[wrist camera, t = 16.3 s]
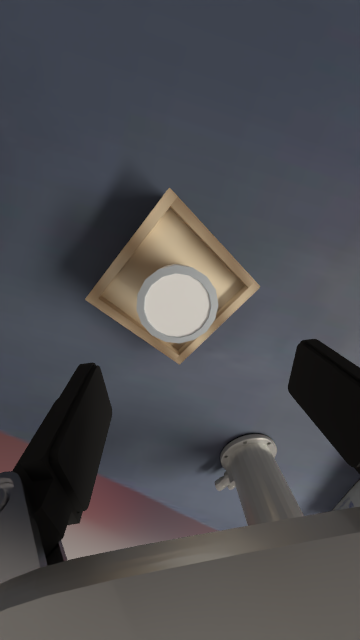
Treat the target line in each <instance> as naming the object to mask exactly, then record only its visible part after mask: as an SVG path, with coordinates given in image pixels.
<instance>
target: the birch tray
mask: <svg viewBox="0 0 360 640" xmlns="http://www.w3.org/2000/svg"><path fill="white" fill-rule="evenodd" d="M171 264H180V265H186V266H189V267H193V268H194V269H196V270H197V271H199V272H201V273H202V274H204V275H205V276H207V277H208V279H209V280H210V282H211V283H212V285H213V286H214V288H215V289H216V294H217V299H218V309H217V313H216V318H215V320H214V322H213V323H212V325H211V326H210V327H209V329H208V330H207V332H205V333H204V334H202V335H201V336H199V337H198V338H196V339H195V340H192V341H187V342H183V343H172V342H164V341H162V340H160V339H158V338H156V337H154V336H152V335H151V334H150V333H149V332H148V331H147V329H146V328H145V327H144V326H143V325H142V324H141V321H140V318H139V315H138V313H137V310H136V308H137V295H138V292H139V290H140V289H141V287H142V285H143V283H144V281H145V279H147V278H148V277H149V276H151V275H152V274H153V273H154V272H156V271H157V270H158V269H160V268H162V267H164V266H167V265H171ZM259 288H260V286H259V285H258V284H257V282H256V281H255V280H254V279H253V278H252V277H251V276H250V275H249V274H248V273H247V272H246V270H245V269H244V268H243V267H242V266H241V265H240V264H239V263H238V262H237V261H236V260H235V258H234V257H233V256H232V255H231V254H230V253H229V252H228V251H227V250H226V249H225V248H224V246H223V245H222V244H221V243H220V242H219V241H218V240H217V239H216V238H215V237H214V236H213V234H212V233H211V232H210V231H209V230H208V229H207V228H206V227H205V226H204V225H203V224H202V222H201V221H200V220H199V219H198V218H197V217H196V216H195V215H194V214H193V213H192V212H191V210H190V209H189V208H188V207H187V206H186V205H185V204H184V203H183V202H182V201H181V200H180V198H179V197H178V196H177V195H176V194H175V193H174V192H173V191H172V190H171V189H170V188H169V189H168V190H167V191H166V193H165V194H164V195H163V197H162V198H161V199H160V201H159V202H158V203H157V205H156V206H155V207H154V209H153V210H152V211H151V213H150V214H149V215H148V217H147V218H146V219H145V221H144V222H143V223H142V225H141V226H140V227H139V229H138V230H137V231H136V232H135V234H134V235H133V236H132V238H131V239H130V240H129V242H128V243H127V244H126V246H125V247H124V248H123V250H122V251H121V252H120V254H119V255H118V256H117V258H116V259H115V260H114V262H113V263H112V264H111V266H110V267H109V268H108V269H107V271H106V272H105V273H104V275H103V276H102V277H101V279H100V280H99V281H98V283H97V284H96V285H95V287H94V288H93V289H92V291H91V292H90V293H89V295H88V296H87V297H86V299H85V300H86V301H88V302H89V303H91V304H92V305H94V306H95V307H97V308H98V309H99V310H101V311H102V312H104V313H105V314H107V315H108V316H110V317H111V318H113V319H114V320H115V321H117V322H118V323H120V324H121V325H123V326H124V327H126V328H127V329H129V330H130V331H132V332H133V333H134V334H136V335H137V336H139V337H140V338H142V339H143V340H145V341H146V342H148V343H149V344H150V345H152V346H153V347H155V348H156V349H158V350H159V351H161V352H162V353H164V354H165V355H166V356H168V357H169V358H171V359H172V360H174V361H175V362H177V363H178V364H181V363H182V362H183V361H184V360H185V359H186V358H187V357H188V356H189V355H190V354H191V353H192V352H193V351H194V350H195V349H196V348H197V347H198V346H199V345H200V344H201V343H202V342H204V341H205V340H206V339H207V338H208V337H209V336H210V335H211V334H212V333H213V332H214V331H215V330H216V329H217V328H218V327H219V326H220V325H221V324H222V323H223V322H224V321H225V320H226V319H227V318H229V317H230V316H231V315H232V314H233V313H234V312H235V311H236V310H237V309H238V308H239V307H240V306H241V305H242V304H243V303H244V302H245V301H246V300H247V299H248V298H249V297H250V296H251V295H252V294H254V293H255V292H256V291H257V290H258V289H259Z"/></svg>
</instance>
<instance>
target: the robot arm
mask: <svg viewBox="0 0 360 640" xmlns="http://www.w3.org/2000/svg"><path fill="white" fill-rule="evenodd" d="M288 390H289V393H290V394H291V395H292V397H293V398H294V399H295V400H296V402H297V403H298V404H299V405H300V406H301V408H302V409H303V410H304V411H305V412H306V414H307V415H308V416H309V417H310V419H311V420H312V421H313V422H314V423H315V425H316V426H317V427H318V428H319V429H320V431H321V432H322V433H323V434H324V435H325V437H326V438H327V439H328V440H329V442H330V443H331V444H332V445H333V446H334V448H335V449H336V450H337V451H338V452H339V454H340V455H341V456H342V457H343V458H344V460H345V461H346V462H347V463H348V464H349V465H350V466H351V467H354V468H355V469H356V470H357V472H358V473H359V474H360V368H359V367H358V366H356V365H355V364H353V363H352V362H350V361H349V360H347V359H346V358H344V357H343V356H341V355H340V354H338V353H337V352H335V351H334V350H332V349H331V348H329V347H328V346H326V345H325V344H323V343H322V342H320V341H319V340H317V339H310V340H303V341H301V342H300V344H298V346H297V349H296V354H295V358H294V362H293V367H292V371H291V375H290V380H289V384H288ZM111 417H112V407H111V404H110V400H109V397H108V393H107V390H106V386H105V383H104V379H103V376H102V372H101V369H100V367H99V366H96V365H95V363H87V364H80V365H79V366H78V368H77V369H76V371H75V372H74V374H73V376H72V377H71V379H70V381H69V382H68V384H67V386H66V387H65V389H64V391H63V392H62V394H61V395H60V397H59V398H58V399H57V400H56V401H55V403H54V404H53V406H52V408H51V409H50V411H49V413H48V414H47V416H46V417H45V419H44V421H43V422H42V424H41V425H40V427H39V429H38V430H37V432H36V434H35V435H34V437H33V438H32V440H31V442H30V443H29V445H28V447H27V448H26V450H25V452H24V453H23V455H22V456H21V458H20V460H19V461H18V463H17V464H16V466H15V468H14V469H13V471H11V472H2V473H0V640H360V507H354V508H348V509H342V510H336V511H330V512H325V513H319V514H313V515H307V516H304V515H303V513H302V511H301V509H300V507H299V505H298V503H297V501H296V499H295V498H294V496H293V494H292V492H291V490H290V488H289V486H288V484H287V482H286V480H285V478H284V476H283V474H282V472H281V470H280V469H279V467H278V465H277V463H276V461H275V459H274V457H275V455H276V452H277V448H276V445H275V443H274V441H273V440H272V439H271V438H269V437H268V436H265V435H261V434H250V435H245V436H242V437H239V438H237V439H235V440H233V441H231V442H230V443H229V444H228V445H226V446H225V448H224V449H223V450H222V452H221V455H220V460H221V464H222V466H223V468H224V469H225V470H226V472H225V473H224V476H222V477H220V478H219V479H217V480H216V481H215V486H216V488H217V490H218V491H221V490H223V489H224V488H225V487H226V486H228V488H229V489H230V490H232V489H233V488H235V486H236V489H237V492H238V495H239V499H240V502H241V505H242V508H243V511H244V515H245V518H246V521H247V524H248V526H245V527H239V528H233V529H228V530H222V531H217V532H211V533H206V534H201V535H195V536H189V537H184V538H178V539H173V540H167V541H161V542H157V543H150V544H146V545H139V546H135V547H130V548H125V549H120V550H115V551H110V552H105V553H100V554H96V555H90V556H85V557H80V558H76V559H71V560H68V561H67V557H66V554H65V551H64V548H63V545H62V542H61V539H62V538H63V536H64V533H65V530H66V527H67V525H71V524H77V523H80V519H81V515H82V512H83V511H85V510H87V508H88V506H89V502H90V499H91V495H92V491H93V487H94V484H95V480H96V476H97V472H98V468H99V464H100V460H101V456H102V452H103V448H104V445H105V441H106V437H107V433H108V429H109V425H110V421H111Z"/></svg>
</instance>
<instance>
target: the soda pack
mask: <svg viewBox="0 0 360 640" xmlns="http://www.w3.org/2000/svg"><path fill="white" fill-rule="evenodd" d="M354 507H360V480H359V481H358V482H357V483H356V484H355V485H354V486H353V487H352V488H351V489H350V491H349V492H348V493H347V494H346V495H345V496H344V497H343V498H342V500H341V501H340V502H339V503H338V504H337V505H336V506H335V508H334V509H333V510H332V511H336V510H342V509H348V508H354Z"/></svg>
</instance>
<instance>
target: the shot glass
mask: <svg viewBox="0 0 360 640" xmlns="http://www.w3.org/2000/svg"><path fill="white" fill-rule="evenodd" d="M217 309H218V299H217V294H216V289H215V288H214V286H213V285H212V283H211V282H210V280H209V279H208V277H207V276H205V275H204V274H202V273H201V272H199V271H197V270H196V269H194V268H193V267H189V266H186V265H180V264H171V265H167V266H164V267H162V268H160V269H158V270H157V271H156V272H154V273H153V274H152V275H151V276H149V277H148V278H147V279H145V281H144V283H143V285H142V287H141V289H140V290H139V292H138V295H137V308H136V310H137V313H138V315H139V318H140V321H141V324H142V325H143V326H144V327H145V328H146V329H147V331H148V332H149V333H150V334H151V335H152V336H154V337H156V338H158V339H160V340H162V341H164V342H172V343H183V342H187V341H192V340H195V339H196V338H198V337H199V336H201V335H202V334H204V333H205V332H207V330H208V329H209V327H210V326H211V325H212V323H213V322H214V320H215V318H216V313H217Z"/></svg>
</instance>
